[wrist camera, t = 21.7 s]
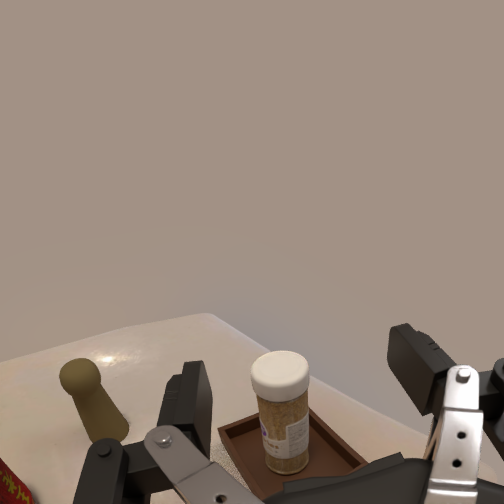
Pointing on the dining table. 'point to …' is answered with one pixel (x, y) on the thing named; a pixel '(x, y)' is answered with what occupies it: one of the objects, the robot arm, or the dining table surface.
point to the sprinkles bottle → (283, 409)
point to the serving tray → (268, 482)
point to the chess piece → (92, 401)
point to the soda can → (12, 488)
